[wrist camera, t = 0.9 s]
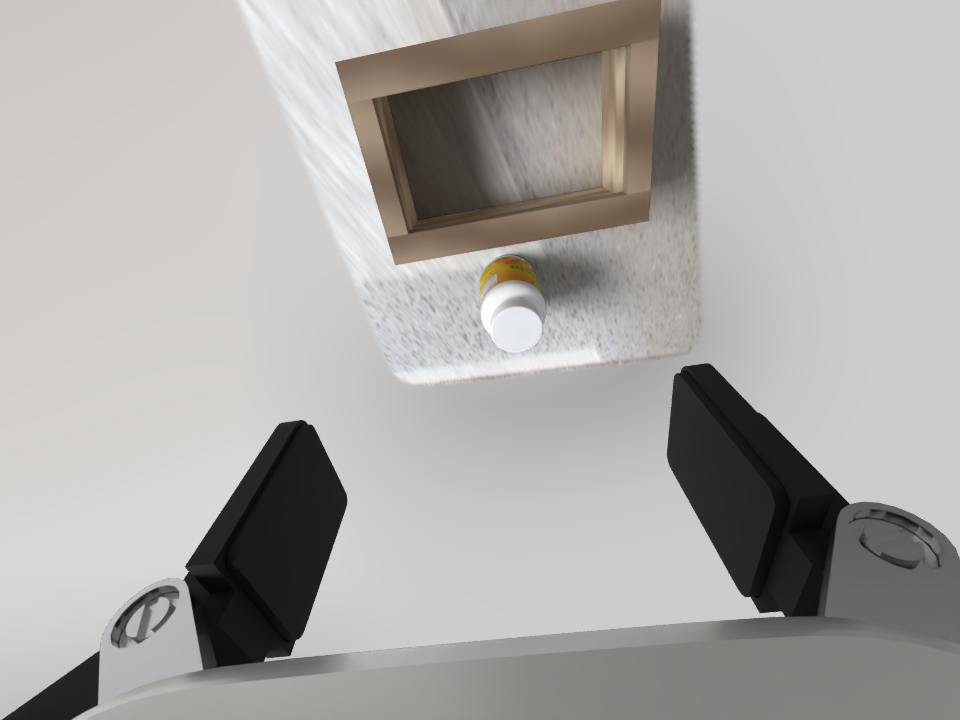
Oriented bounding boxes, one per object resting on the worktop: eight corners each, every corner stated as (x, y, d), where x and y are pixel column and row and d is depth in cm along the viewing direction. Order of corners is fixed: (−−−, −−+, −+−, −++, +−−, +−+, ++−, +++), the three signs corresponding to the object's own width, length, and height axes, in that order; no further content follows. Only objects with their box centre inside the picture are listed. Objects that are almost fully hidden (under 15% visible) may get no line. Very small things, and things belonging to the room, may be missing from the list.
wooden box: (366, 70, 29) (335, 62, 23) (616, 16, 28) (661, -9, 21) (409, 233, 36) (395, 265, 29) (614, 196, 34) (648, 221, 28)
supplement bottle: (547, 274, 38) (567, 322, 30) (513, 316, 41) (523, 371, 32) (501, 242, 36) (509, 283, 28) (468, 288, 39) (467, 339, 31)
